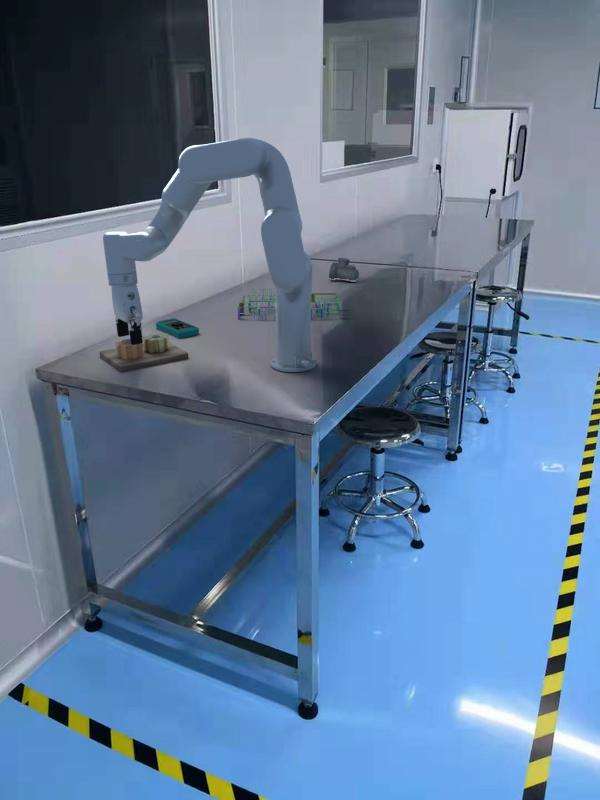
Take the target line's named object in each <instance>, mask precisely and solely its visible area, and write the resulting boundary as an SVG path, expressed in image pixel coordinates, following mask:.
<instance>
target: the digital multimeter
mask: <svg viewBox="0 0 600 800" xmlns="http://www.w3.org/2000/svg"><path fill="white" fill-rule="evenodd" d="M155 327H156V328H155V329H157V330H158V331H161V332H164V333H165V334H167V335H170V336H173V337H175V338H177V339H184V338H191V337H194V336H198V335H200V330H199V329H200V328H199V327H198V326H195V325H192V324H189V323H187V322H185V321H183V320H180V319H178V318H175V317H173V318H168V319H167V318H166V319H162V320H159V321H157V322H156V323H155Z"/></svg>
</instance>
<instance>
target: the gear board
mask: <svg viewBox="0 0 600 800" xmlns="http://www.w3.org/2000/svg"><path fill="white" fill-rule="evenodd" d="M152 334H153V338H158V333H152ZM126 344H131V341H130V338H126ZM142 346H143V356H138V357H137V358H134V359H133V358H128V359H123V358H122V357H121V358H118V357H117V352H116V348H112V349H106V350H105V349H104V350H100V351H99V357H100V358H101V359H102V360H104V361H105V362H106V363H108V364H109V365H111V366H112V367H113V368H114V369H116V370H117V371H119V372H120V373H122V372H127V371H128V372H129V371H133V370H138V369H142V368H147V367H151V366H157V365H161V364H166V363H172V362H176V361H181V360H182V361H183V360H188V359H189V353H188V352H187V351H185V350H183V349H182V348H179V347H178V346H176V345H175V344H173V343H171V342H170V341H169V350H165V351H164V352H154V353H150V352H149V351H146V352H145V351H144V345H143V343H142Z"/></svg>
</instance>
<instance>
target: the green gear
mask: <svg viewBox="0 0 600 800" xmlns="http://www.w3.org/2000/svg"><path fill="white" fill-rule="evenodd" d="M153 334H154V333H148V334H147V335H142V340H143V343H142V344H143V345H144V351H145V352H146V351H149V352H150V353H154V352H164V351H165V350H169V342H170V341H169V334H168V333H165V334H163V333H162V332H161V333H160V332H158V333H157V334H158V338H153Z"/></svg>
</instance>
